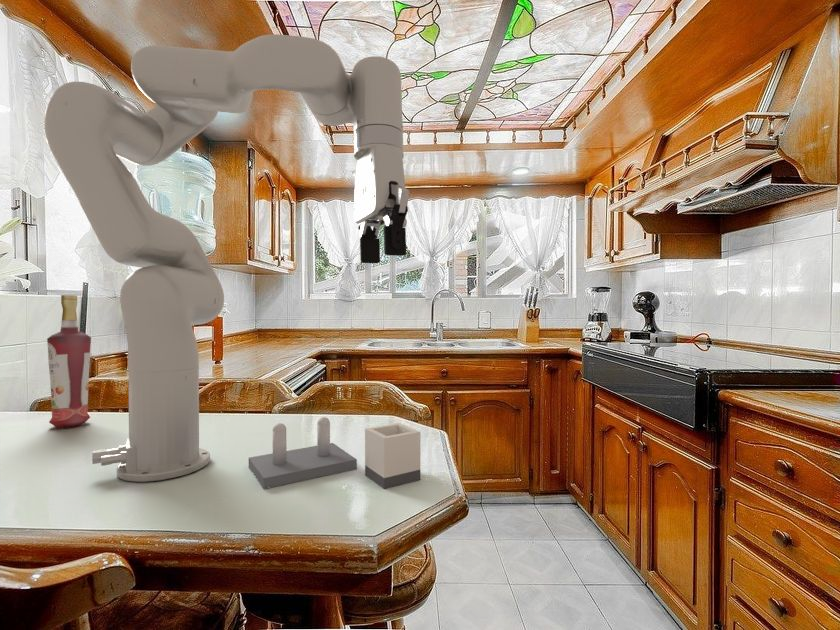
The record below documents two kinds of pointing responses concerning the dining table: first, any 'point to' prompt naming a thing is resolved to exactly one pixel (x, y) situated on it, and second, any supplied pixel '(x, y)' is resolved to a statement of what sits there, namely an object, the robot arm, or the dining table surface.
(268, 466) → the pin board
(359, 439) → the dining table surface
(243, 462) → the dining table surface
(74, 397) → the liquor
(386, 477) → the sleeve
